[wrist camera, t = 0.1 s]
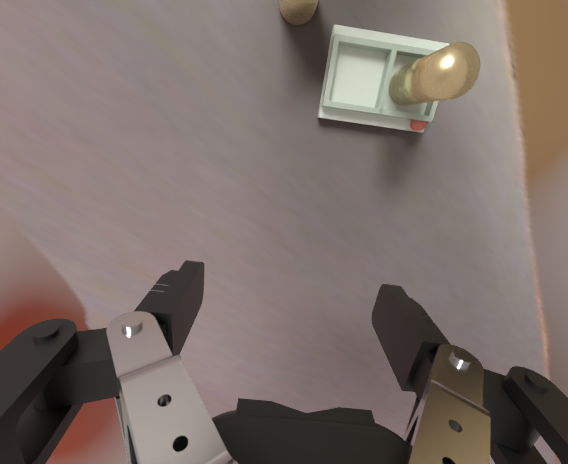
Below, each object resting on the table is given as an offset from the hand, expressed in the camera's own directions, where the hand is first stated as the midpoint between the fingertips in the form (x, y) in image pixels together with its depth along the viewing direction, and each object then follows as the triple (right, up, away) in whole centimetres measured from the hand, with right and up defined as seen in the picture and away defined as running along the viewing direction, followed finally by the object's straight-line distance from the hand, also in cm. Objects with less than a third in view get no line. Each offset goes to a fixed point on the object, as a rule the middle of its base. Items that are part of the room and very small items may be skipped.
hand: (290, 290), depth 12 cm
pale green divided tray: (+12, +22, +23) cm, 34 cm away
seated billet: (+15, +21, +22) cm, 34 cm away
